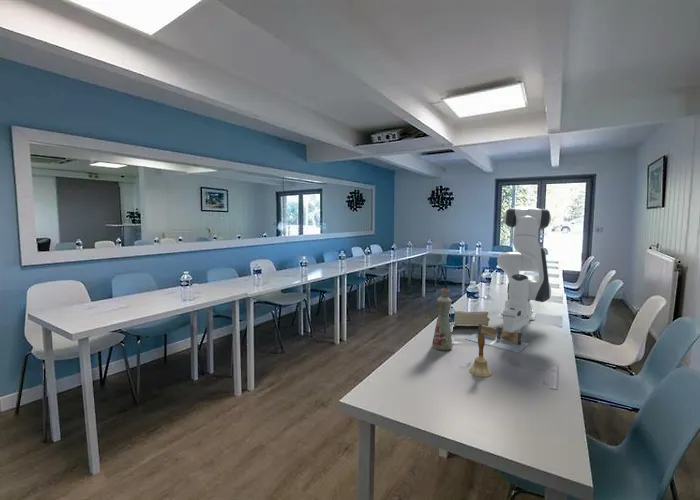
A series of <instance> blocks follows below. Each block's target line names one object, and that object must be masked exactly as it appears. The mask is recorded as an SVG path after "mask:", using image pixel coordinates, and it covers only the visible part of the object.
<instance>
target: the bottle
mask: <svg viewBox="0 0 700 500" xmlns="http://www.w3.org/2000/svg"><path fill="white" fill-rule="evenodd" d="M440 291H441V292H440V296H439V297H438V298H437V312H438V313H437V318H436V324H435V329H434V334H433V338H432V342H431V343H432V347H433V349H436V350H438V351H442V352H443V351H450V350H451V349H453V341H452V332H451V331H452V330H451V328H450V322H449V314H450V311H451V304H452V299H451V298H450V297H449V293H450V291H449V289H448V288H441V289H440Z"/></svg>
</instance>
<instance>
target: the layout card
mask: <svg viewBox="0 0 700 500" xmlns="http://www.w3.org/2000/svg"><path fill="white" fill-rule="evenodd" d="M478 337H479V334H478V331H475V332H474V333H472V334H471V335H469V336H467V337H466V338H465V340H467V341H471V342H474V343H478ZM484 338H485V345H486V346H491V347H494V348H498V349H500V350H501V349H502V350H506V351H510V352H515V353H517V354H519V353H520V352H522V350H524V349H525V348H526V347H527V346H528V345H529V344H530V343H528V342H524V341H521V344H518V343H515V342H511V341H507V340H503V339H497V335H496V337H491V336H487V335H484Z"/></svg>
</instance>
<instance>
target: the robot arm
mask: <svg viewBox="0 0 700 500" xmlns="http://www.w3.org/2000/svg"><path fill="white" fill-rule="evenodd" d="M503 219H504V223H505V225H506V226H507V227H508V228H512V229H513V237H512V245H513V247H514V249H515V251H506V252H501V253H500V254H498V257H497V260H496V262H497V266H498V267H499V268H500V269H501V270H502V271H503V272H504V273H505V275H506V276H507V279H508V283H507V300H506V301H504V306H503V307H504V308H503V311H501V314H500V315H503V319H502V321H503V324H502V330H504V331H506V332H510V333H512V332H514V333H517V334H518V333H521V329H522V328H524V327H526V326H528V325H529V324H530V321H535V320H536V318H537V317H536V316H537V313H536V312H534V311H533V304H532V302H531V301H535V302H540V303H544V302H547V301H548V300H550V298H551V295H552V288H551V284H550V281H549V272H548V262H547V256H546V255H547V254H546V252H545V249H544V248H542V247H541V246H540V244H539V230H540V229H541V230H542V229H546V228H548V227H549V225H550V223H551V220H552V215H551V212H550V210H548V209H547V208H537V207H511V208H508V209H507V210H506V212H505V214H504V218H503ZM520 272H538V280H534V279H532V280H531V279H529V277H528V276H527V275H525V274H520Z"/></svg>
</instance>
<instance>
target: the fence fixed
mask: <svg viewBox="0 0 700 500" xmlns="http://www.w3.org/2000/svg"><path fill="white" fill-rule="evenodd" d="M477 326H478V327H477V328H478V329H477V332H478V334H480V332H482V333H483V334H484V335H487V336H491V337H496V336H497V339H501V336H502V326H497V327H492V326H489V325H488V326H484V325H482V324H481V323H479V325H477Z"/></svg>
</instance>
